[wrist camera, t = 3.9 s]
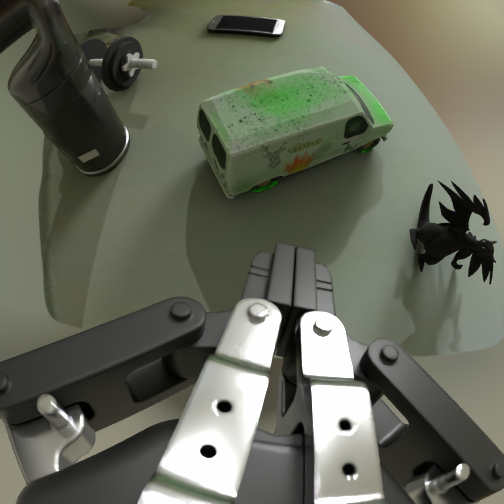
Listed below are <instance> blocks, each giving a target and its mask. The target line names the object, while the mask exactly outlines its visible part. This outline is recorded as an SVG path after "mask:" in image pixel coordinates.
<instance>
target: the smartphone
mask: <svg viewBox="0 0 504 504" xmlns="http://www.w3.org/2000/svg"><path fill="white" fill-rule="evenodd" d="M284 26H285V21H284V20H280V19H272V18H263V17H251V16H236V15H217V16H216V17H214V19H213V20H212V22H211V23H210V25H209V26H208V28H207V30H208V31H212V32H235V33H248V34H259V35H268V36H276V37H279V36H281V35H282V34H283V30H284Z"/></svg>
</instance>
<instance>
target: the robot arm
mask: <svg viewBox="0 0 504 504" xmlns="http://www.w3.org/2000/svg"><path fill="white" fill-rule="evenodd" d="M33 28H34V29H36V31H37V34H36V36H35V38H34V40H33V42H32V44H31V46H30V47H29V49H28V50H27V51H26V53H25V54H24V55H23V57H22V58H21V59H20V61H19V62H18V63H17V65H16V66H15V68H14V69H13V71H12V73H11V75H10V78H9V81H8V89H9V92H10V94H11V95H12V97H13V98H14V99H15V100H16V101H17V102H18V103H19V105H20V106H21V107H22V108H23V109H24V110H25V111H26V113H27V114H28V115H29V116H30V117H31V118H32V119H33V120H34V122H35V123H36V124H37V125H38V126H39V127H40V128H41V129H42V130H43V132H44V134H45V135H46V136H47V137H48V138H49V139H50V140H51V141H52V142H53V144H54V145H55V146H56V147H57V148H58V149H59V150H60V151H61V152H62V153H63V154H64V155H65V156H66V157H67V158H68V159H69V160H70V161H71V162H72V163H73V164H75V165H76V167H77V168H78V169H79V170H80V171H81V172H82V173H83V174H85V175H88V176H97V175H101V174H103V173H106V172H108V171H109V170H111V169H112V168H114V167H115V166H116V165H117V164H118V163H119V162H120V161H121V160H122V158H123V157H124V156H125V154H126V152H127V150H128V147H129V143H130V136H129V133H128V131H127V129H126V127H125V126H124V125H123V124H122V122H121V120H120V118H119V116H118V115H117V113H116V111H115V109H114V108H113V106H112V104H111V102H110V101H109V99H108V97H107V95H106V94H105V92H104V90H103V88H102V86H101V85H100V83H99V81H98V79H97V77H96V75H95V74H94V72H93V70H92V68H91V66H90V65H89V63H88V61H87V59H86V57H85V55H84V53H83V51H82V49H81V47H80V45H79V44H78V42H77V40H76V38H75V36H74V35H73V33H72V31H71V29H70V27H69V25H68V23H67V21H66V19H65V17H64V14H63V12H62V9H61V7H60V4H59V2H58V0H0V54H1V53H2V52H3V51H4V50H5V49H7V48H8V47H9V46H10V45H11V44H13V43H14V42H15V41H17V40H18V39H19V38H20V37H22V36H23V35H24V34H26V33H27V32H28V31H30V30H31V29H33ZM276 348H277V352H276V356H281V357H284V359H283V366H282V368H281V370H280V373H279V385H278V386H279V387H278V415H277V426H276V429H275V433H274V434H271V433H269V432H267V431H264V430H262V429H259V428H257V424H258V420H259V416H260V412H261V408H262V404H263V401H264V397H265V393H266V389H267V385H268V381H269V377H270V371H269V370H270V365H271V361H272V357H273V355H274V354H275V351H276ZM195 382H196V384H195V386H194V389H193V391H192V393H191V395H190V397H189V400H188V402H187V404H186V406H185V409H184V411H183V413H182V415H181V417H180V419H174V420H168V421H164V422H161V423H158V424H155V425H153V426H150V427H149V428H147V429H145V430H143V431H141V432H139V433H137V434H135V435H134V436H132V437H130V438H128V439H126V440H124V441H122V442H120V443H118V444H116V445H114V446H112V447H110V448H108V449H106V450H104V451H102V452H100V453H98V454H96V455H93V456H91V457H89V458H87V459H85V460H82V461H80V462H78V463H76V462H77V461H78V459H79V458H80V457H81V456H83V455H85V454H86V453H88V452H89V451H90V450H91V449H92V447H93V445H94V443H95V432H96V431H98V430H101V429H103V428H105V427H108V426H110V425H112V424H114V423H116V422H118V421H121V420H123V419H125V418H127V417H129V416H131V415H134V414H135V413H138V412H139V411H142V410H144V409H146V408H148V407H150V406H152V405H154V404H156V403H158V402H160V401H162V400H164V399H166V398H168V397H170V396H172V395H174V394H175V393H177V392H179V391H181V390H183V389H185V388H187V387H189V386H190V385H192V384H194V383H195ZM383 395H385V396H386V397H387V398H388V399H389V400H390V401H391V402H392V403H393V405H395V407H396V408H397V409H398V410H399V411H400V412H401V413H402V415H403V416H405V418H406V419H407V420H408V422H409V425H407V424H404V423H403V422H402V421H401V420H400V419H399V418H398V417H397V416H396V415H395V414H394V413H393V412H392V410H391V409H390V408H389V407H388V406H387V405H386V404H385V403H384V402H383V401H382V399H381V397H382V396H383ZM0 418H1V419H2V420H3V422H4V423H5V426H6V429H7V433H8V435H9V439H10V442H11V445H12V448H13V451H14V454H15V457H16V459H17V462H18V464H19V467H20V469H21V472H22V474H23V477H24V479H25V481H26V484H27V486H25V488H24V489H23V490H22V491H21V493H20V494H19V496H18V499H17V502H16V504H477V503H478V502H479V501H480V500H482V499H484V498H486V497H488V496H490V495H492V494H494V493H496V492H498V491H500V490H502V489H503V488H504V454H503V453H502V452H501V451H500V450H499V449H498V447H497V446H496V445H495V444H494V443H493V442H492V441H491V440H490V439H489V438H488V436H487V435H486V434H485V433H484V432H483V431H482V430H481V429H480V428H479V427H478V426H477V424H476V423H475V422H474V421H473V420H472V419H471V418H470V417H469V416H468V415H467V414H466V413H465V412H464V411H463V409H462V408H460V406H459V405H458V404H457V403H456V402H455V401H454V400H453V399H452V398H451V397H450V396H449V395H448V394H447V393H446V392H445V391H444V390H443V389H442V388H441V387H440V386H439V385H438V384H437V382H436V381H435V380H434V379H433V378H432V377H431V376H430V375H429V374H427V372H426V371H425V370H424V369H423V368H422V367H421V366H420V365H419V364H418V363H416V361H415V360H414V359H413V358H412V357H411V356H410V355H409V354H408V353H407V352H406V351H405V350H404V349H403V348H402V347H401V346H399V345H398V344H397V343H395V342H393V341H391V340H389V339H384V338H379V339H375V340H373V341H372V342H371V343H370V345H369V346H367V345H365V344H363V343H360V342H358V341H356V340H354V339H352V338H350V337H348V336H347V335H346V334H345V329H344V326H343V324H342V323H341V322H340V321H339V320H338V319H337V318H336V314H335V304H334V295H333V286H332V278H331V273H330V272H329V271H328V269H327V268H326V266H325V265H321V264H317V263H315V250H312V249H307V248H303V247H298V246H296V248H295V246H294V245H289V244H285V243H280V242H276V246H275V250H274V254H271V253H267V252H262V251H260V252H259V253H258V254H256V255H255V256H254V257H253V259H252V263H251V267H250V270H249V273H248V277H247V280H246V283H245V287H244V290H243V294H242V297H241V300H240V301H239V302H238V303H237V304H236V306H235V307H234V308H232V309H230V310H228V311H223V312H206V311H205V309H204V307H203V306H202V305H201V304H200V303H199V302H197V301H196V300H194V299H191V298H188V297H173V298H169V299H166V300H164V301H161V302H159V303H156V304H154V305H151V306H148V307H146V308H143V309H141V310H138V311H136V312H133V313H130V314H128V315H125V316H123V317H120V318H117V319H115V320H112V321H109V322H107V323H104V324H102V325H99V326H96V327H94V328H91V329H88V330H86V331H83V332H80V333H78V334H75V335H73V336H70V337H67V338H64V339H62V340H59V341H57V342H54V343H51V344H48V345H46V346H43V347H40V348H37V349H35V350H32V351H30V352H27V353H24V354H21V355H18V356H16V357H13V358H10V359H7V360H5V361H2V362H0ZM398 482H399V483H398ZM403 488H404V489H403Z"/></svg>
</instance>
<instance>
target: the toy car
mask: <svg viewBox="0 0 504 504" xmlns="http://www.w3.org/2000/svg"><path fill="white" fill-rule="evenodd" d="M197 127H198V130H199V133H200V137H199V138H198V140H199V143H200V145H201V147H202V149H203V151H204V153H205V155H206V157H207V159H208V162H209V164H210V166H211V168H212V170H213V172H214V174H215V176H216V178H217V179H218V181H219V183H220V185H221V187H222V189H223V191H224V193H225V195H226V196H227V198H230V199H234V196H230V195H238V194H241V193H244V192H246V191H249V190H250V191H251V192H261V191H263V190H266V189H269V188H272V187H273V186H275V185H277V184H278V182H279V176H282V177H284V176H287V175H290V174H293V173H296V172H299V171H302V170H305V169H308V168H310V167H313V166H315V165H317V164H320V163H322V162H325V161H327V160H330V159H332V158H335V157H337V156H340V155H342V154H345V153H347V152H350V151H353V150H355V149H356V150H357V151H358V152H359V153H365V152H368V151H371V150H372V149H373V148H374V147H375V146H376V145H377V144H378V143H379V141H380V137H381V138H382V139H383V141H385V140H386V139H387V138H388V134H387V133H389V131H390V130H391V129H392V127H393V122H392V120H391V119H390V117H389V116H388V114H387V113H386V111H385V110H384V109H383V107H382V106H381V105H380V103H379V102H378V101H377V99H376V98H375V97H374V96H373V95H372V94H371V92H370V91H369V90H368V89H367V88H366V87H365V86H364V85H363V84H362V83H361V82H360V81H359V80H358V79H357V78H356V77H354V76H336V75H335V74H334V73H333V72H331V71H330V70H328V69H326V68H325V67H317V68H311V69H305V70H299V71H294V72H290V73H286V74H282V75H279V76H275V77H271V78H267V79H264V80H260V81H257V82H253V83H250V84H247V85H244V86H241V87H238V88H236V89H233V90H230V91H227V92H224V93H222V94H219V95H216V96H214V97H211V98H209V99H206V100H205V101H203V102H201V103H200V106H199V110H198V116H197ZM226 189H227V190H226ZM227 191H228V192H229V194H230V195H229V194H228V192H227Z"/></svg>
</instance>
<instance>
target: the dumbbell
mask: <svg viewBox="0 0 504 504" xmlns="http://www.w3.org/2000/svg"><path fill="white" fill-rule="evenodd" d="M80 47H81V49H82V51H83V53H84V55H85V57H86V59H87V61H88V63H89V65H90V66H91V68H92V70H93V72H94V74H95V75H96V77H97V79H98V81H100V80H101V79H103V82H104V84H105V85H106V87H108V88H109V89H111V90H113V91H122V90H125V89H127V88H128V87H129V86H131V84H132V83H133V82H134V81H135V79H136V78H137V77H138V75H139V73H140V70H141V68H144V69H146V68H147V69H154V68H156V67H157V61H156V60H154V59H143V53H142V49H141V46H140V44H139V42H138V41H137V40H136V39H135V38H133V37H129V36H125V37H121V38H119V39H117V40H115V41H114V42H113V43H112V44H111V45H110V46H109V47H108V49H107V46H106V45H105V43H104V42H103V41H101V40H99V39H88V40H86V41H84V42H82V43H81V44H80Z"/></svg>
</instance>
